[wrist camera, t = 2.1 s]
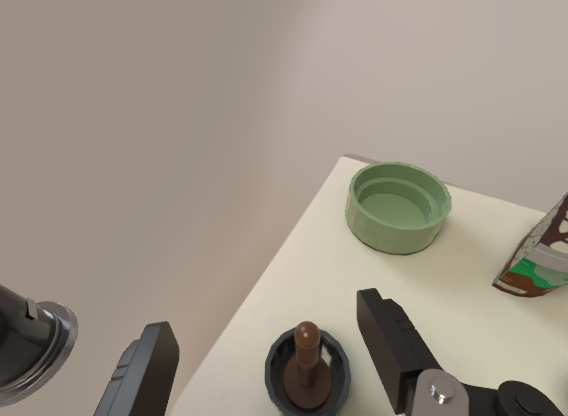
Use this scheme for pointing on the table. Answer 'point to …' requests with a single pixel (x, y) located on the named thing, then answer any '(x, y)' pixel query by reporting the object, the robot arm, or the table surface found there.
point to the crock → (330, 354)
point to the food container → (539, 257)
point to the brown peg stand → (307, 371)
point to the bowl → (396, 207)
